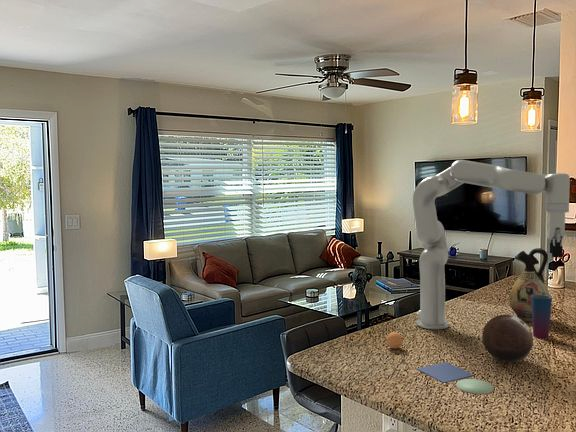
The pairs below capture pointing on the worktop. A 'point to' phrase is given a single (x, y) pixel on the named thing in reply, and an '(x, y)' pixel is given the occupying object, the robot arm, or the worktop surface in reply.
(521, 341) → the wooden sphere
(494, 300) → the worktop surface
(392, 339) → the egg
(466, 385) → the far disc
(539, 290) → the ceramic jug
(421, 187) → the robot arm
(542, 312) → the cup
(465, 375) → the blue square tile
